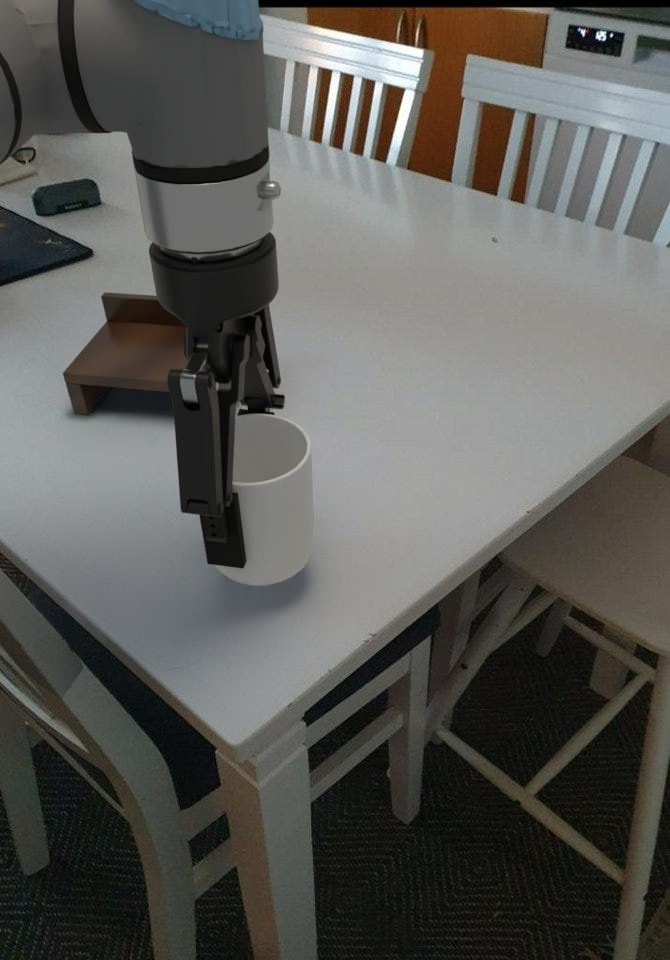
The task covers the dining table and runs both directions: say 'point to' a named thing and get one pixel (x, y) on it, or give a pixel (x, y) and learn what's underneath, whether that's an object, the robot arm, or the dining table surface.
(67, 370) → the shelf
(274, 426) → the cup
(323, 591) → the dining table surface
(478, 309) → the dining table surface
